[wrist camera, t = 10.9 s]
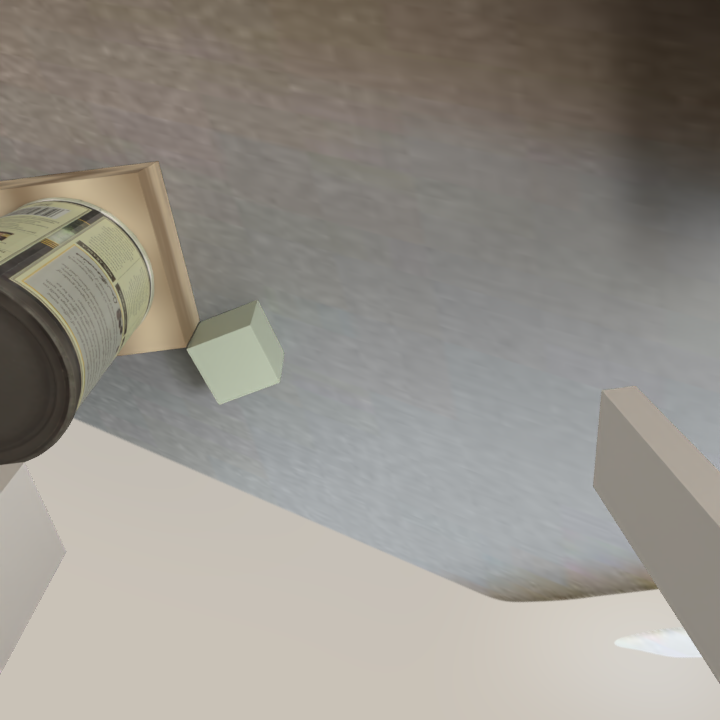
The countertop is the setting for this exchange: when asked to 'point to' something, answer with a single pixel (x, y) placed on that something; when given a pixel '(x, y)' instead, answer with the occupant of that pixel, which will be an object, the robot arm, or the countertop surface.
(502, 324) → the countertop surface
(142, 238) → the beech block
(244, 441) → the countertop surface
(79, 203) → the coffee can
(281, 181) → the countertop surface
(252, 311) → the sage block
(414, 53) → the countertop surface
